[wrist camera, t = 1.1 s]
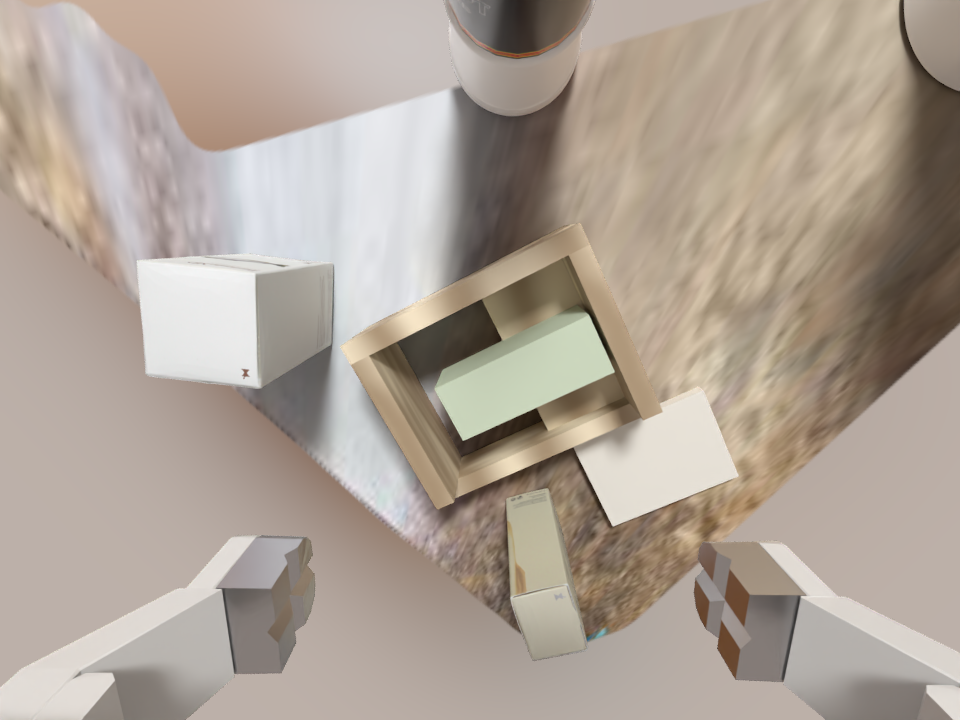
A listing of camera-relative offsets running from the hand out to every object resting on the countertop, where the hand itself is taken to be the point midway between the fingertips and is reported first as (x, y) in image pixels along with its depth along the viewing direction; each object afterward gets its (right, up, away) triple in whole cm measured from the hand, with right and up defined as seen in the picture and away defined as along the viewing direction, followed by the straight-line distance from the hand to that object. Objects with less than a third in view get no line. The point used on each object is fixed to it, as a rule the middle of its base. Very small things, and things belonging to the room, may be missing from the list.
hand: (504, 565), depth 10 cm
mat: (+15, -4, +32) cm, 36 cm away
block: (+3, +4, +28) cm, 28 cm away
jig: (+2, +4, +30) cm, 31 cm away
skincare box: (+5, -11, +35) cm, 37 cm away
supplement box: (-17, +10, +30) cm, 36 cm away
